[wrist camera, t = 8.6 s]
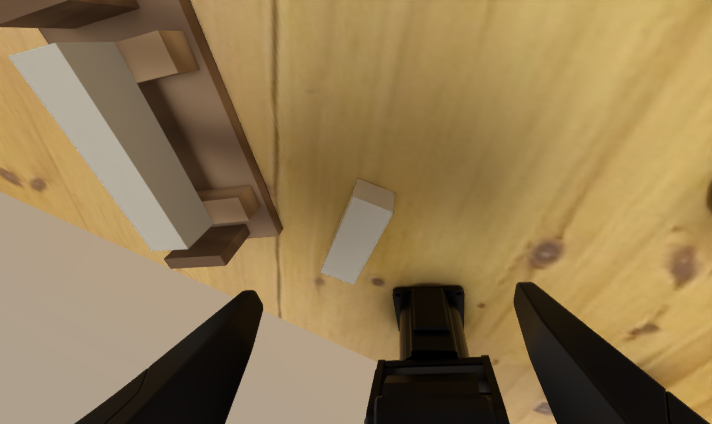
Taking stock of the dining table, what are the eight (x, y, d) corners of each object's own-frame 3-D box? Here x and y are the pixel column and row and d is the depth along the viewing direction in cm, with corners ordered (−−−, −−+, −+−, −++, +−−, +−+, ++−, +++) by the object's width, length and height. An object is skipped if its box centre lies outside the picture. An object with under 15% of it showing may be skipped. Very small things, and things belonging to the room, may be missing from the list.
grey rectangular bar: (213, 223, 21) (188, 248, 18) (180, 226, 21) (151, 251, 19) (114, 41, 15) (55, 42, 12) (71, 52, 15) (7, 56, 13)
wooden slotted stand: (282, 228, 24) (258, 268, 20) (188, 236, 26) (148, 274, 22) (175, -36, 15) (87, -64, 11) (43, 10, 17) (-73, 1, 13)
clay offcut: (353, 284, 23) (358, 260, 25) (393, 212, 18) (394, 191, 21) (320, 272, 22) (328, 248, 25) (352, 196, 18) (358, 177, 21)
